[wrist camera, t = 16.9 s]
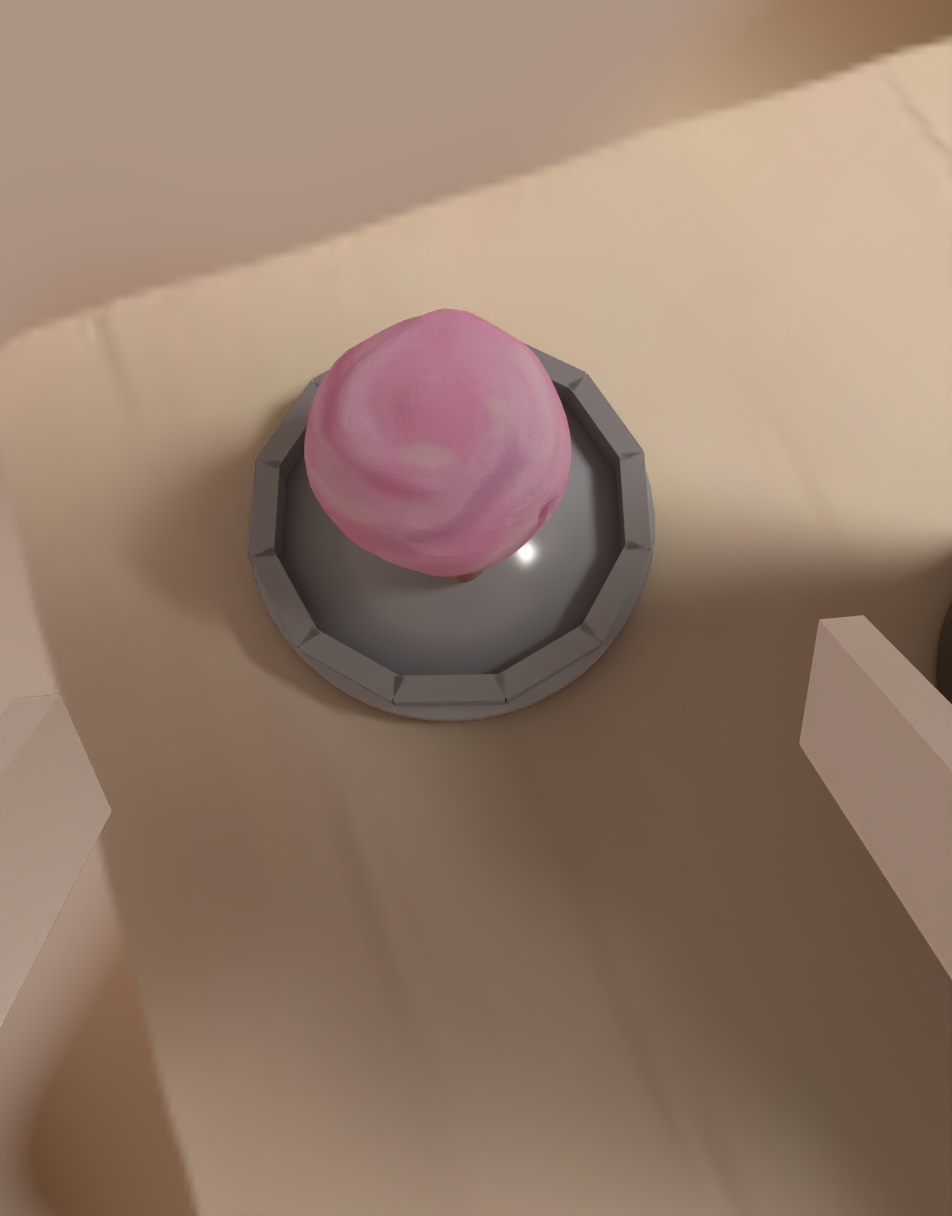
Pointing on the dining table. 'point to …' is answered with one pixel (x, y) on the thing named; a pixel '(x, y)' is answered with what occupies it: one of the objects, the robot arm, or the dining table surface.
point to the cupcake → (438, 445)
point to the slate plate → (451, 611)
